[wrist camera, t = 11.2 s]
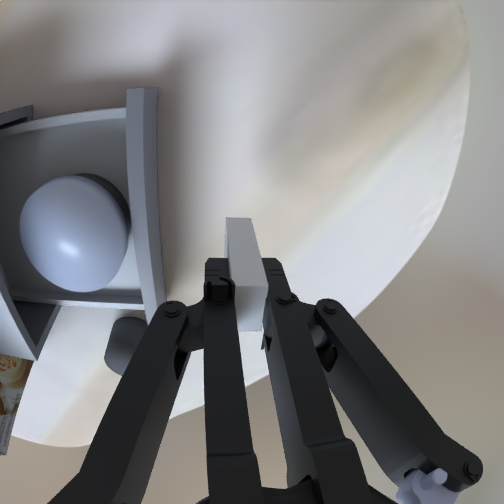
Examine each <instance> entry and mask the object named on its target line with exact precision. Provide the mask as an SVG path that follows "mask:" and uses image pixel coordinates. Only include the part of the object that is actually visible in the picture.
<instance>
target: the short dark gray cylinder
mask: <svg viewBox="0 0 504 504" xmlns="http://www.w3.org/2000/svg"><path fill="white" fill-rule="evenodd" d="M147 327H148V324H147V322H146V321H144V320H142V319H139V318H134V317H124V318H121V319H119V320H117V321H116V322H115V323H114V324H113V327H112V331H111V334H110V338H109V341H108V345H107V348H106V352H105V356H104V360H105V363H106V364H107V366H108V367H109V368H110V369H111V370H112V371H114V372H115V373H117V374H119V375H121V376H123V374H124V372H125V370H126V368H127V366H128V364H129V362H130V360H131V358H132V356H133V354H134V352H135V350H136V348H137V346H138V344H139V342H140V340H141V338H142V336H143V334H144V332H145V331H146V329H147Z"/></svg>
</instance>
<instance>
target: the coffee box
mask: <svg viewBox="0 0 504 504" xmlns="http://www.w3.org/2000/svg"><path fill="white" fill-rule="evenodd" d="M33 362H34V361H33V360H28V359H24V358H19V357H15V356H10V355H6V354H2V353H0V455H6V454H7V450H8V445H9V440H10V436H11V432H12V428H13V424H14V420H15V417H16V413H17V410H18V407H19V403H20V400H21V397H22V394H23V391H24V388H25V385H26V382H27V379H28V376H29V373H30V370H31V368H32V365H33Z"/></svg>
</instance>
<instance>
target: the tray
mask: <svg viewBox="0 0 504 504" xmlns="http://www.w3.org/2000/svg"><path fill="white" fill-rule="evenodd" d="M157 101H158V87H143V88H130V89H126V107H117V108H107V109H98V110H90V111H82V112H76V113H69V114H63V115H57V116H52V117H47V118H42V119H37V120H32V121H28V122H24V123H19V124H15V125H11V126H8V127H4V128H0V272H1V275H2V277H3V280H4V282H5V285H6V287H7V289H8V292H9V294H10V296H11V299H12V300H16V301H25V302H34V303H45V304H56V305H68V306H82V307H97V308H115V309H138V310H145V314H146V319H147V324H148V325H149V323H150V321H151V319H152V317H153V315H154V314H155V312H156V310H157V308H158V307H159V306H160V305H161V304H162V303H164V302H167V301H166V292H165V284H164V274H163V264H162V253H161V241H160V226H159V210H158V187H157ZM66 175H76V176H81V177H85V178H88V179H90V180H92V181H94V182H96V183H98V184H99V185H101V186H102V187H103V188H105V189H106V190H107V191H108V192H109V193H110V194H111V195H112V196H113V197H114V199H115V200H116V201H117V203H118V204H119V206H120V208H121V210H122V211H123V214H124V216H125V219H126V222H127V226H128V233H129V242H128V248H127V252H126V255H125V257H124V259H123V262H122V264H121V267H120V269H119V271H118V273H117V275H116V276H115V278H114V279H113V280H112V281H111V282H110V283H109V284H108V285H106V286H105V287H103V288H101V289H98V290H96V291H91V292H75V291H70V290H66V289H64V288H61V287H59V286H57V285H55V284H53V283H52V282H50V281H49V280H47V279H46V278H45V277H44V276H42V275H41V274H40V273H39V272H38V271H37V269H36V268H35V267H34V266H33V264H32V263H31V261H30V260H29V258H28V256H27V255H26V252H25V250H24V248H23V245H22V241H21V237H20V217H21V212H22V209H23V207H24V205H25V203H26V201H27V200H28V198H29V197H30V196H31V195H32V194H33V193H34V192H35V191H37V190H38V189H39V188H40V187H42V186H43V185H44V184H46V183H47V182H49V181H50V180H52V179H54V178H56V177H60V176H66Z"/></svg>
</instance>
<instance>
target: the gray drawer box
mask: <svg viewBox="0 0 504 504" xmlns="http://www.w3.org/2000/svg"><path fill="white" fill-rule="evenodd" d="M32 120H33V108H32V105H30V106H26V107H22V108H18V109H14V110H11V111H7V112H3V113H0V128H4V127H8V126H11V125H15V124H19V123H24V122H28V121H32ZM61 306H62V305H56V304H45V303H34V302H25V301H16V300H12V299H11V296H10V294H9V292H8V289H7V287H6V285H5V282H4V280H3V277H2V275H1V272H0V353H2V354H6V355H10V356H15V357H19V358H24V359H28V360H33V361H37V360H38V358H39V355H40V353H41V350H42V348H43V346H44V343H45V341H46V339H47V336H48V334H49V332H50V330H51V327H52V325H53V323H54V321H55V319H56V317H57V314H58V312H59V310H60V308H61Z"/></svg>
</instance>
